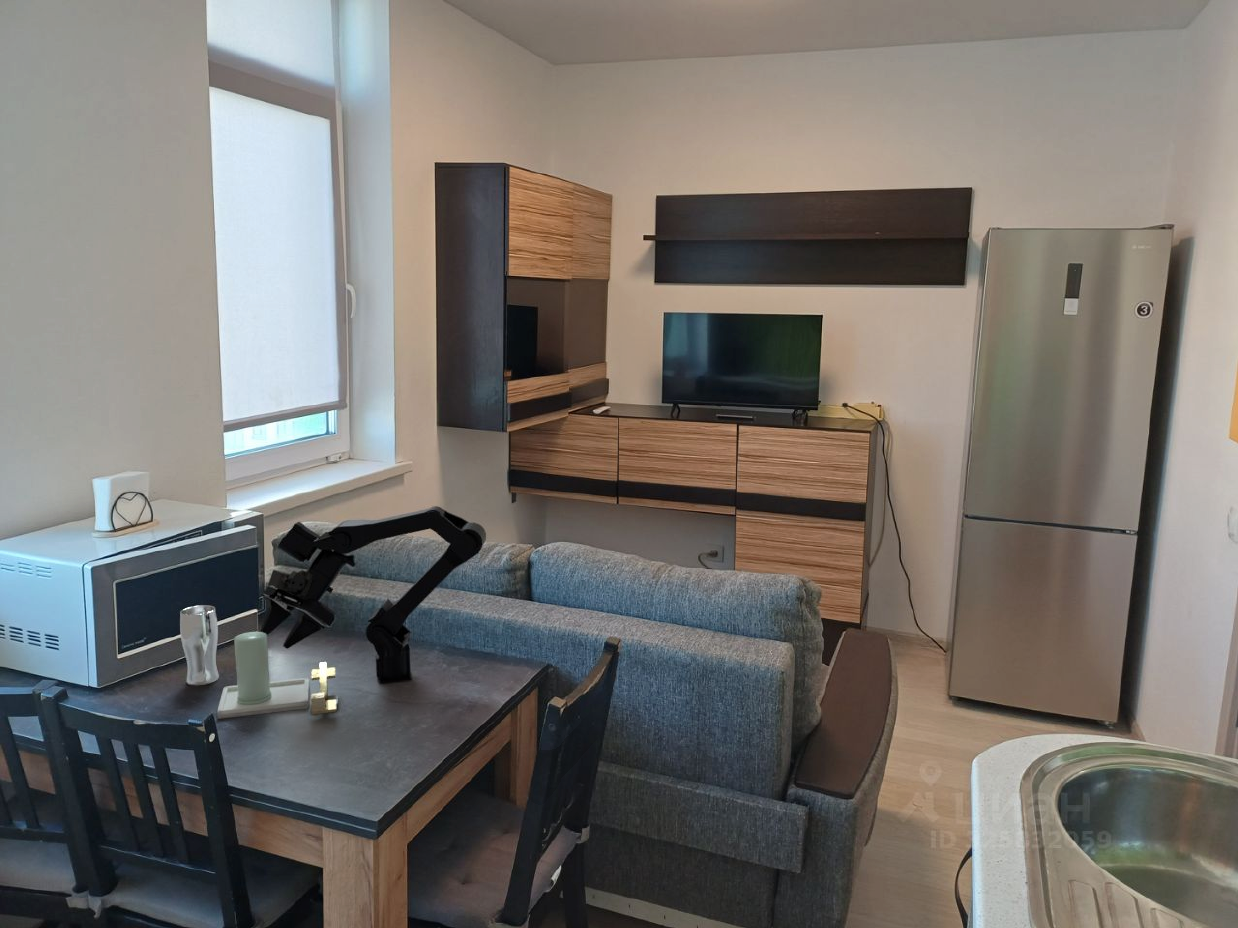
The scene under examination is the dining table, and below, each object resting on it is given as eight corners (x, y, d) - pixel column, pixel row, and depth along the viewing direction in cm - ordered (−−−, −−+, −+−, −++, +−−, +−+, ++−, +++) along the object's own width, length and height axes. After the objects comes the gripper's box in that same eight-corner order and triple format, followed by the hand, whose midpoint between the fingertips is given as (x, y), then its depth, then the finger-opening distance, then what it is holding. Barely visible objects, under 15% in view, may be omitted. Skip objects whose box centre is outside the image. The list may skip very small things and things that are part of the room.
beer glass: (207, 687, 185) (201, 616, 182) (176, 684, 186) (171, 614, 184) (228, 674, 191) (223, 605, 189) (198, 672, 193) (193, 603, 190)
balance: (337, 689, 184) (336, 656, 183) (338, 720, 170) (336, 685, 169) (311, 692, 182) (309, 659, 181) (310, 724, 168) (308, 689, 167)
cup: (273, 690, 181) (269, 630, 179) (269, 702, 175) (265, 640, 173) (239, 693, 180) (235, 632, 178) (235, 706, 174) (230, 643, 172)
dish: (309, 684, 186) (308, 677, 186) (308, 708, 175) (307, 700, 175) (224, 693, 182) (224, 686, 181) (217, 718, 170) (217, 711, 170)
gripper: (269, 546, 186) (220, 611, 180) (318, 562, 174) (267, 632, 168) (306, 575, 193) (260, 638, 187) (356, 592, 181) (308, 661, 175)
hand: (272, 641), depth 179 cm, fingers open, 9 cm apart
